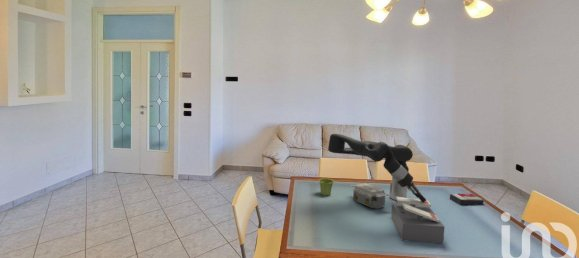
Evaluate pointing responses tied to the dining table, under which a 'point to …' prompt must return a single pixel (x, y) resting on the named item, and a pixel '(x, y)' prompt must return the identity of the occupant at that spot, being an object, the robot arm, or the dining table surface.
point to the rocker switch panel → (416, 224)
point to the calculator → (466, 199)
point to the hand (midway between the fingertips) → (424, 201)
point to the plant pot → (326, 186)
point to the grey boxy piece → (369, 195)
